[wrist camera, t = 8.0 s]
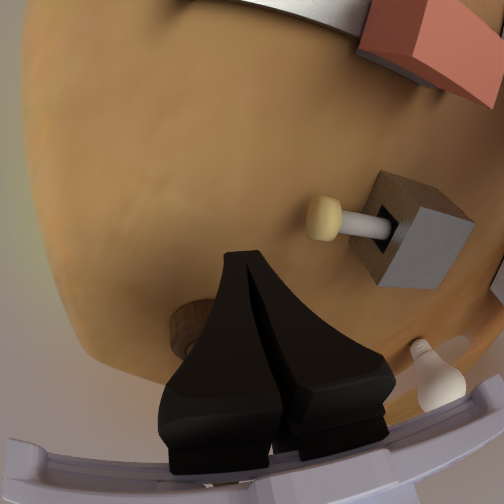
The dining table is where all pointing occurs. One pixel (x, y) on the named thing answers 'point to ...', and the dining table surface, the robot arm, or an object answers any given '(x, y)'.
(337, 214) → the plunger
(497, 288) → the tea box
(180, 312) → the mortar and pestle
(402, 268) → the grey block with hole
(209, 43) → the dining table surface
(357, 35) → the rail
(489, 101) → the block
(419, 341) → the lightbulb
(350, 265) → the dining table surface
